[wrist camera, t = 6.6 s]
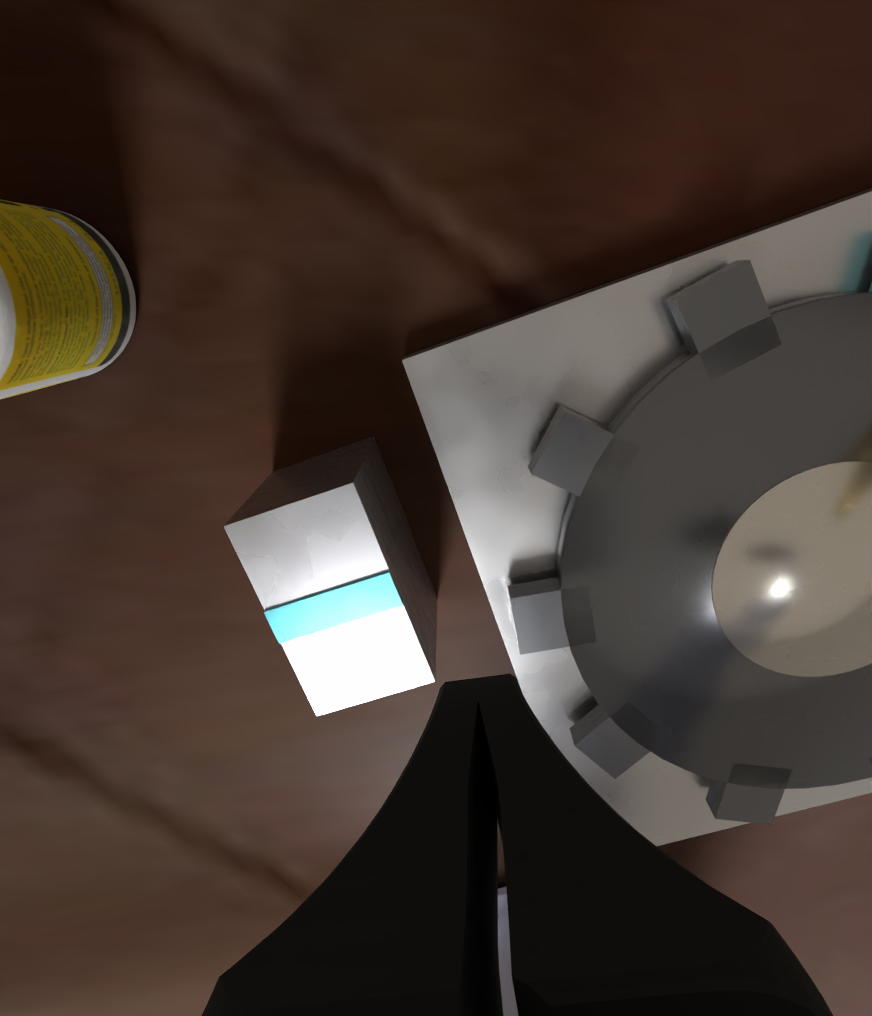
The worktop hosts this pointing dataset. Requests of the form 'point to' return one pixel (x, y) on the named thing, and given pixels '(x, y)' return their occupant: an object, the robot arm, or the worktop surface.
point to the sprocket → (723, 551)
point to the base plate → (600, 397)
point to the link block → (340, 577)
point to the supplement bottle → (58, 299)
